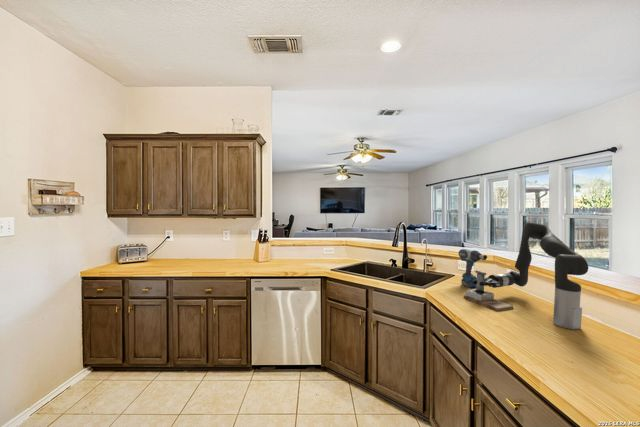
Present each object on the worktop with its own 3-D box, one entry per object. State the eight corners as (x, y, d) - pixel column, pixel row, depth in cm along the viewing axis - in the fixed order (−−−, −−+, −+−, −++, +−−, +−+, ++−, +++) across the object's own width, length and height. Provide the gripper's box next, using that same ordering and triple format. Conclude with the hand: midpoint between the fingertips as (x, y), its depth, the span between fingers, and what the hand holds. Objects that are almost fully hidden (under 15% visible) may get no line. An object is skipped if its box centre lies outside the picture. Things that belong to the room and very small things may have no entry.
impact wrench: (479, 292, 188) (481, 253, 186) (454, 282, 209) (456, 247, 208) (489, 291, 190) (491, 252, 189) (463, 281, 211) (465, 247, 210)
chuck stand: (513, 308, 158) (513, 299, 158) (497, 311, 154) (497, 301, 154) (478, 296, 179) (478, 288, 179) (463, 298, 175) (463, 289, 174)
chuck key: (486, 297, 169) (488, 272, 168) (481, 298, 168) (482, 273, 167) (476, 293, 175) (477, 270, 175) (471, 294, 174) (472, 270, 173)
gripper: (487, 271, 182) (466, 273, 176) (509, 277, 169) (488, 279, 163) (487, 283, 183) (466, 286, 177) (509, 290, 169) (487, 293, 163)
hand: (476, 282), depth 170 cm, fingers closed on chuck key, 3 cm apart
